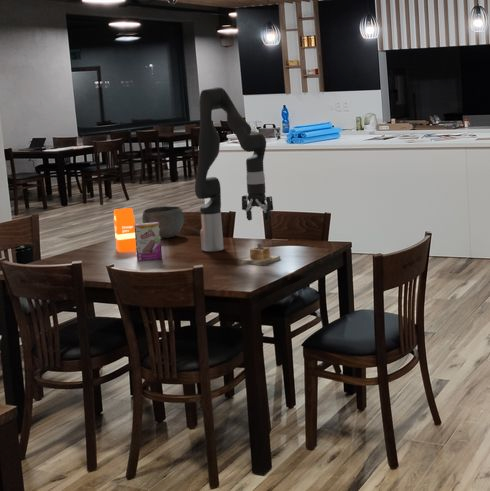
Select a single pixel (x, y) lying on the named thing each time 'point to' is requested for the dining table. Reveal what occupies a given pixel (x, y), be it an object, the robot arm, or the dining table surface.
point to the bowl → (165, 219)
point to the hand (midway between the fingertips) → (258, 220)
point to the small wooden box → (260, 253)
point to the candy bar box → (148, 241)
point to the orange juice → (124, 230)
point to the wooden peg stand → (260, 262)
